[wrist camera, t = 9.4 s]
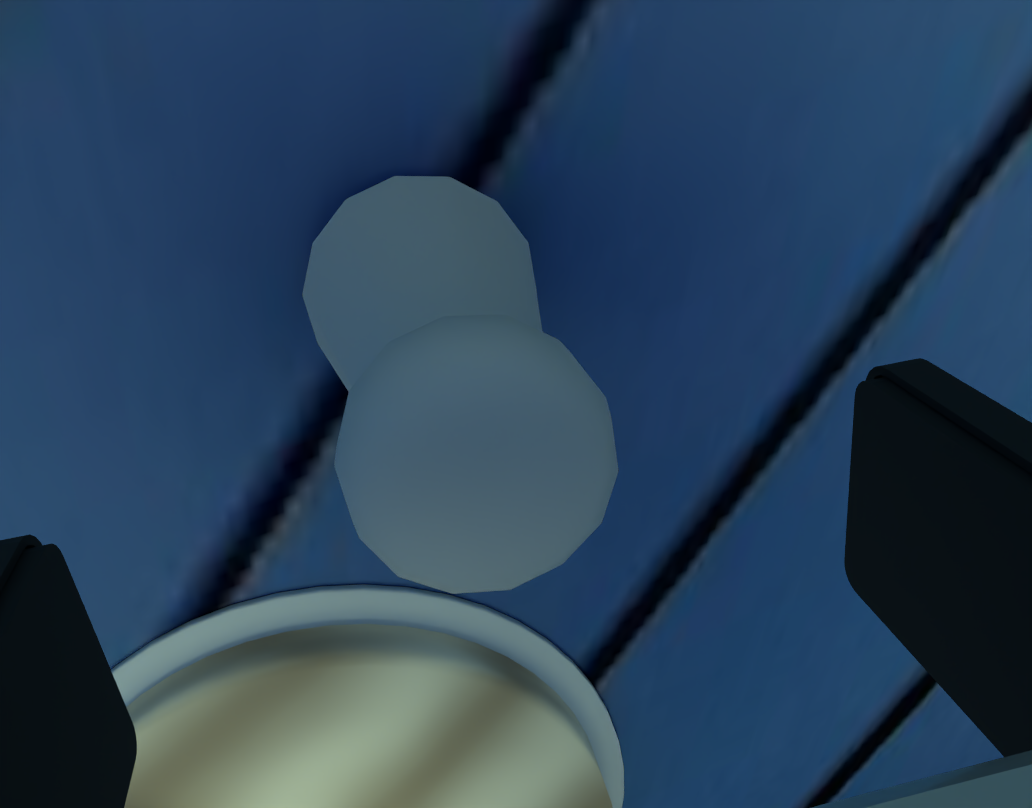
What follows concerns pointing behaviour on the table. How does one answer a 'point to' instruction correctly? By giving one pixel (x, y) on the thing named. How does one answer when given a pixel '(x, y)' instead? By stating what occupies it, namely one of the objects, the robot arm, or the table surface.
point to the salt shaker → (454, 390)
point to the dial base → (381, 609)
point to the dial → (360, 728)
